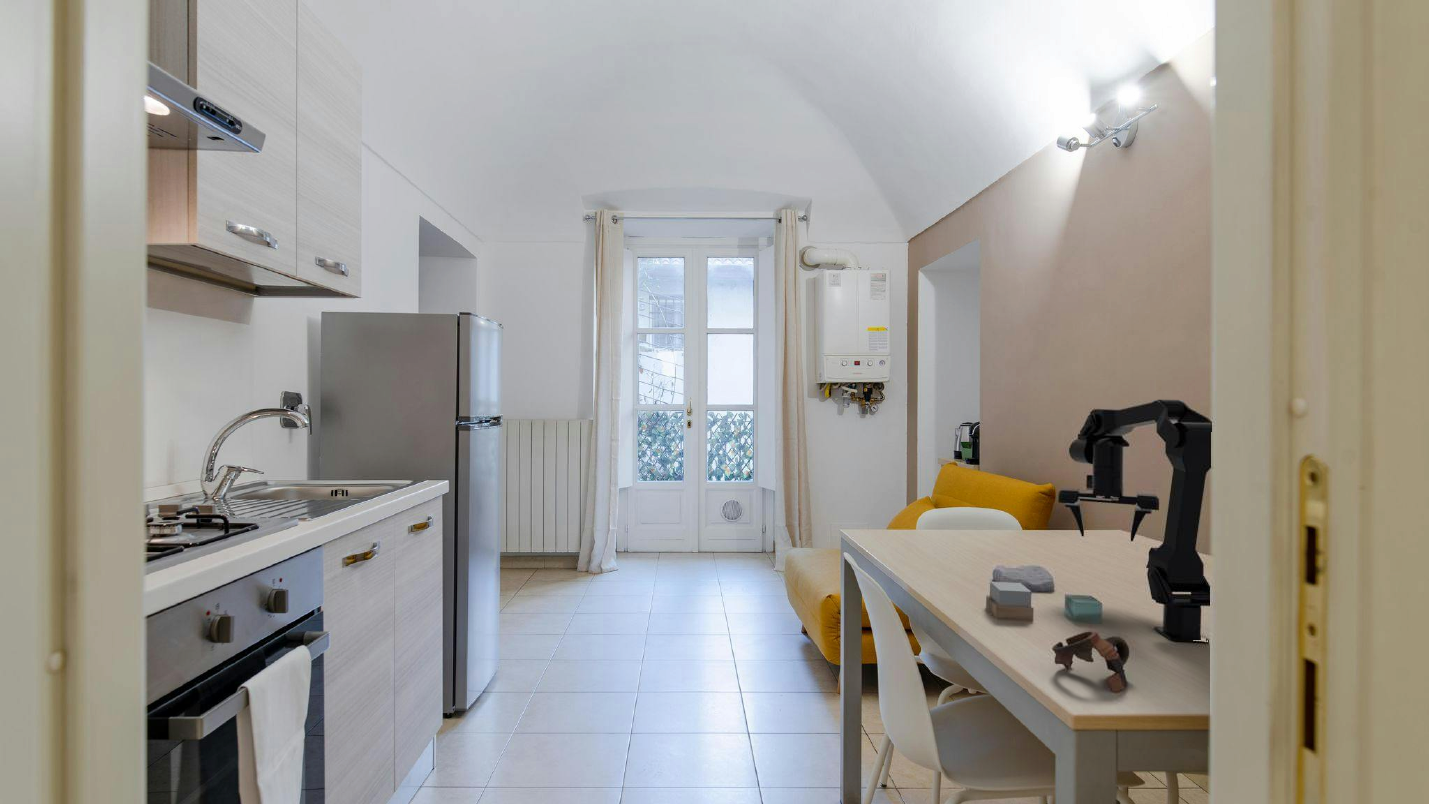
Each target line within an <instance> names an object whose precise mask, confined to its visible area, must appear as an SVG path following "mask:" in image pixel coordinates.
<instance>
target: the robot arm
mask: <svg viewBox="0 0 1429 804" xmlns="http://www.w3.org/2000/svg"><path fill="white" fill-rule="evenodd" d="M1172 421H1174V423H1173V422H1172ZM1175 421H1176V422H1175ZM1212 422H1213V421H1212V420H1211V419H1209V418H1208V417H1207V416H1205V415H1203V414H1201V413H1199V412H1198V411H1195V410H1194V409H1192V408H1190V407H1189V406H1188V404H1186V403H1185V402H1184V401H1182V400H1179V399H1157V400H1153V401H1152V402H1151V401H1150V402H1148V403H1147V402H1146V403H1143V404H1139V405H1134V406H1130V407H1126V408H1117V409H1116V408H1113V409H1112V408H1110V409H1109V408H1093V409H1092V410H1091V411H1090V412H1089V415H1088V416H1087V418H1086V420H1085V422H1084V425H1082V427H1081V429H1080V431H1079V433H1078V434H1077V438H1076V439H1075V440H1073V441H1072V443H1071V444H1070V446H1069V447H1068V453H1069V457H1070V458H1071V460H1073V461H1075V462H1076V463H1079V464H1086V465H1087V464H1088V465H1092V474H1086V481H1085V484H1086V485H1085V488H1086V490H1087V491H1092V493H1089V492H1081V491H1080V489H1079V488H1067V487H1066V488H1065V487H1063V488H1061V489H1060V490H1059V491H1058V500H1057V502H1058V503H1059V504H1064V507H1065V508H1069V509H1070V511H1071V513H1072V514H1073V517H1074V518H1075V521H1076V524H1077V526H1078V529H1079V533H1080V536H1081V537H1082V538H1083V537H1085V526H1084V517H1083V509H1082V502H1091V503H1104V504H1105V503H1106V504H1120V505H1128V506H1129V505H1131V506H1135V507H1134V510H1133V511H1134V512H1133V518H1132V523H1131V530H1130V542H1134V539H1135V537H1136V534H1137V532H1138V529H1139V527H1140V525H1141V522H1142V521H1143V520H1144V518H1145V516H1146V515H1151V514H1152V511H1160V499H1159V496H1157V494H1155V493H1139V492H1138V493H1136V496H1133V495H1124V448H1128V447H1130V443H1129V442H1128V441H1127V440H1126V439H1125V438H1124V437H1123V436H1125V435H1126V434H1129V433H1131V432H1133V430H1134V429H1135V428H1136V427H1142V426H1149V425H1155V424H1156V429H1155V430H1156V434H1157V435H1158V436H1159V437H1160V438H1161V440H1163V442H1164V444H1165V446H1164V451H1165V453H1164V454H1165V455H1166V457H1167V459H1168V461H1169V463H1170V465H1171V467H1172V478H1171V483H1170V492H1169V500H1168V505H1167V512H1166V513H1167V514H1166V521H1165V529H1164V536H1163V542H1162V544H1160V545H1159V546H1158V547H1151V548H1150V549H1149V550H1148V561H1147V564H1146V566H1145V568H1146V569H1147V571H1146V572H1147V573H1146V577H1147V580H1148V581H1147V582H1148V586H1149V590H1150V596H1151V599H1152V600H1154V602H1155V603H1157V604H1160V605H1163V608H1162V609H1163V610H1162V611H1163V612H1162V614H1163V615H1162V626H1156V625H1155V626H1154V628H1153V629H1154V630H1155V631H1157V633H1159V634H1161V635H1162V636H1164V637H1166V638H1167V639H1169V640H1170V641H1173V642H1186V641H1193V640H1201V635H1202V633H1201V632H1202V607H1210V587H1211V585H1210V583H1209V582H1208V580H1207V578H1206V576H1205V575H1204V572H1205V570H1204V568H1205V567H1204V566H1205V565H1204V562H1203V560H1202V558H1201V557H1200V555H1199V553H1198V550H1197V541H1198V535H1199V534H1198V533H1199V527H1200V519H1201V513H1202V508H1203V507H1202V506H1203V500H1204V494H1205V486H1206V479H1207V473H1209V471H1210V470H1211V469H1212V467H1211V432H1212ZM1207 640H1208V643H1209V640H1210V639H1209V638H1207V637H1206V641H1207ZM1209 644H1210V643H1209Z"/></svg>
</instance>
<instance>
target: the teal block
mask: <svg viewBox="0 0 1429 804" xmlns="http://www.w3.org/2000/svg"><path fill="white" fill-rule="evenodd" d="M1064 614H1065V615H1066V616H1067V617H1068V618H1069V619H1070V620H1072V621H1073V622H1075V623H1076V622H1077V623H1093V624H1096V623H1097V624H1102V623H1103V622H1102V620H1103V603H1102V602H1101V601H1100V600H1098V599H1097V598H1095V597H1094V596H1093V595H1085V594H1064Z"/></svg>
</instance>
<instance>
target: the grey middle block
mask: <svg viewBox="0 0 1429 804" xmlns="http://www.w3.org/2000/svg"><path fill="white" fill-rule="evenodd" d="M989 595H990V597H991V598H992V599H993V600H994V601H995V602H996V603H997V604H998V605H1000V606H1022V607H1031V606H1032V590H1029V589H1027V588H1026V587H1025V586H1024V585H1022V584H1021V583H1010V582H996V581H989Z"/></svg>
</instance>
